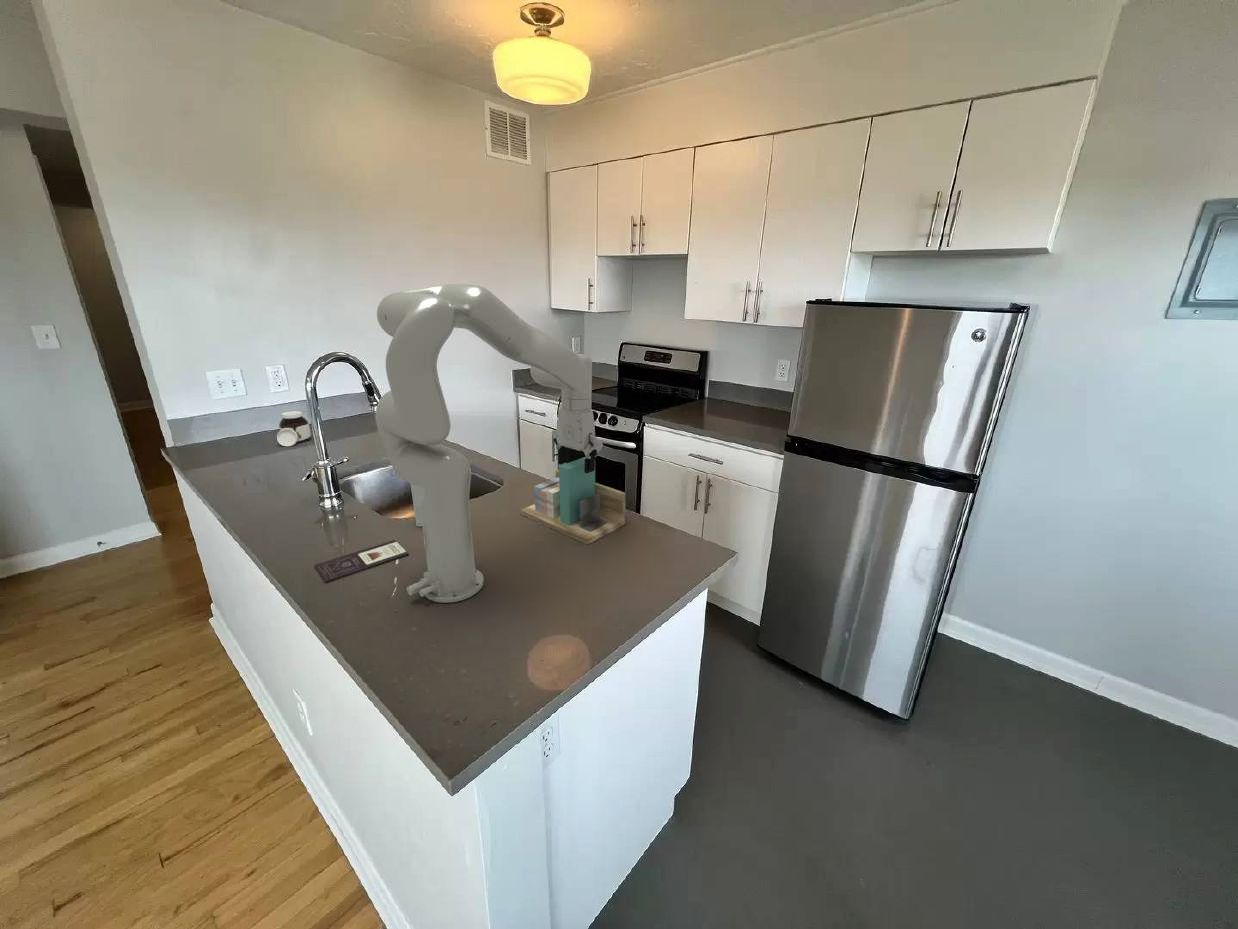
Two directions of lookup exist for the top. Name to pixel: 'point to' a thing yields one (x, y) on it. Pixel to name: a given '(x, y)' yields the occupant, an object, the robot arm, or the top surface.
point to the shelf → (595, 511)
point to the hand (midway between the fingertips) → (576, 467)
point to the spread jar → (293, 429)
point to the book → (574, 489)
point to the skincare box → (417, 502)
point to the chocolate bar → (360, 561)
